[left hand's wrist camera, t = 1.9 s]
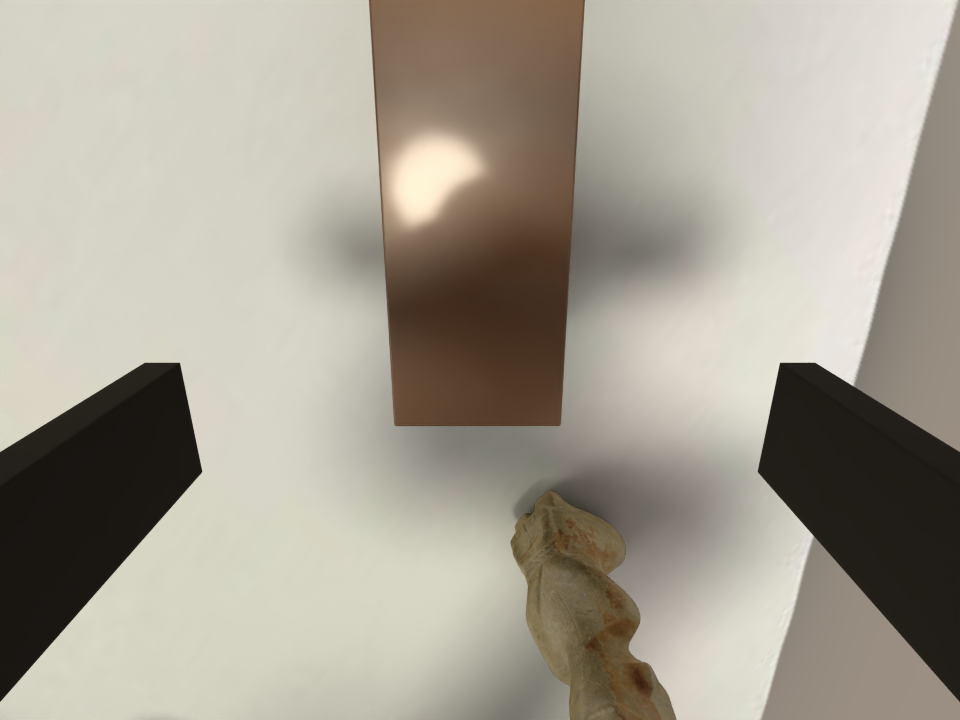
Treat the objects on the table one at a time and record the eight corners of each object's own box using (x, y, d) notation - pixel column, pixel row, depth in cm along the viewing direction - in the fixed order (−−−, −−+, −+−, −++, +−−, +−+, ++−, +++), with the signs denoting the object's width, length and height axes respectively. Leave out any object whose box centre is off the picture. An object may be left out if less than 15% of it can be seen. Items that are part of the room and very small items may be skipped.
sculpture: (572, 579, 38) (629, 831, 23) (493, 523, 36) (503, 757, 22) (633, 525, 36) (733, 760, 22) (553, 464, 34) (606, 674, 20)
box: (531, 332, 32) (560, 426, 21) (423, 332, 32) (394, 426, 20) (547, -134, 24) (606, -384, 13) (406, -134, 24) (345, -385, 13)
